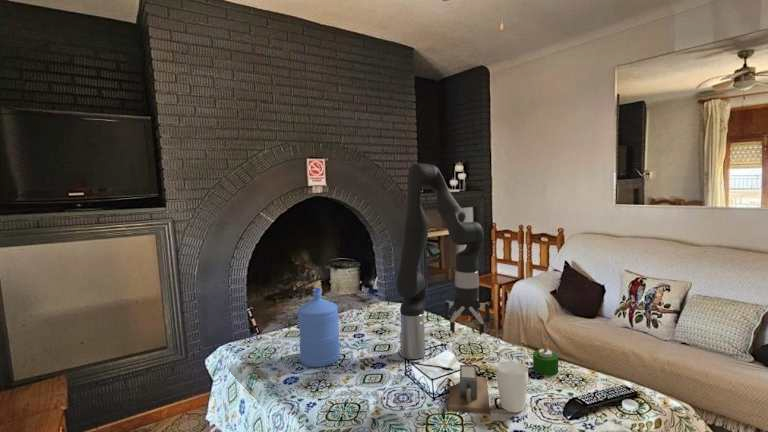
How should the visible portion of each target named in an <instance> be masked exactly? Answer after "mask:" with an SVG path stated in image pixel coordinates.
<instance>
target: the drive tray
mask: <svg viewBox="0 0 768 432" xmlns="http://www.w3.org/2000/svg"><path fill="white" fill-rule="evenodd" d="M476 377H477V400H476V399H471V389H470V388H467V399H462V398H460V383H459V384H457V385H453V386H450V385H449V391H448V406H447V407H448V409H447V410H449V411H458V412H459V411H462V412H472V413H473V412H474V413H484V414H490V413H491V408H490V407H491V406H490V405H491V404H490V399H489V390H488V380H487V377H486V376H476Z"/></svg>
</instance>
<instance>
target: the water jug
mask: <svg viewBox="0 0 768 432" xmlns="http://www.w3.org/2000/svg"><path fill="white" fill-rule="evenodd" d="M312 297H313V298H312V300H310V301H308V302H306V303H304V304H302V305H300V306H299V308H297V321H298V329H299V339H300V340H299V361H300V363H301V364H302V365H303V366H307V367H310V368H323V367H327V366H330V365H333V364H335V363H336V362H337V361H338V360H339V359H340V357H341V350H340V330H339V308H338V305H337V304H336V303H335V302H332V301H329V300H326V299H323V298H322V289H321V288H318V287H317V288H313V289H312Z"/></svg>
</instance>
